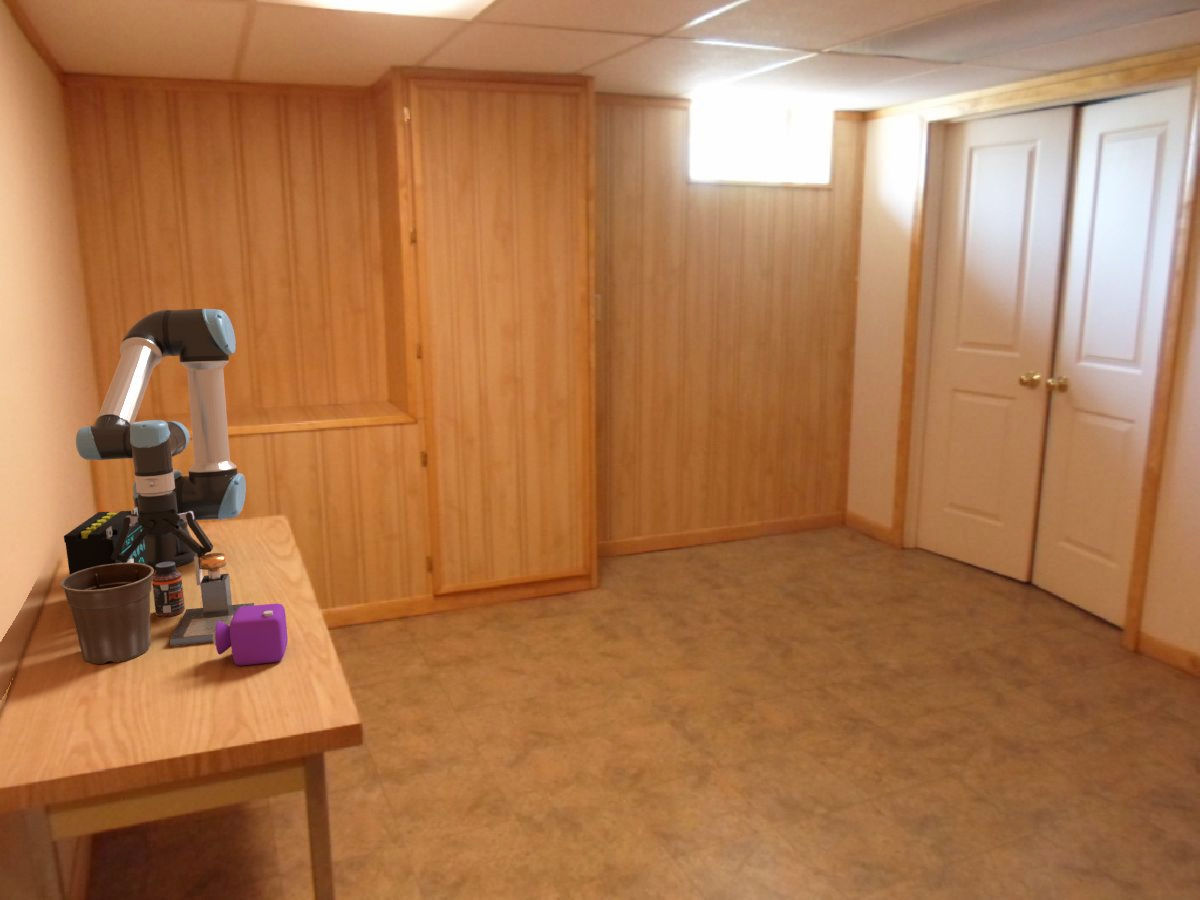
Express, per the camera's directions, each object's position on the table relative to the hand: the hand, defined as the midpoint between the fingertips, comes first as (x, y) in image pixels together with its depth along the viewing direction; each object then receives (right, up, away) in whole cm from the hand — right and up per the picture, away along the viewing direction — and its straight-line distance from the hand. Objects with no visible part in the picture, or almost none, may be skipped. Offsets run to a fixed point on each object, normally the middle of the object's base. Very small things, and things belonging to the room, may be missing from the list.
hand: (166, 586), depth 202 cm
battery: (-16, -5, +8) cm, 19 cm away
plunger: (+12, 0, -3) cm, 12 cm away
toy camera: (+27, -11, -22) cm, 37 cm away
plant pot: (-1, -11, -19) cm, 21 cm away
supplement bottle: (0, -6, +2) cm, 7 cm away
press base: (+13, -8, -7) cm, 17 cm away
